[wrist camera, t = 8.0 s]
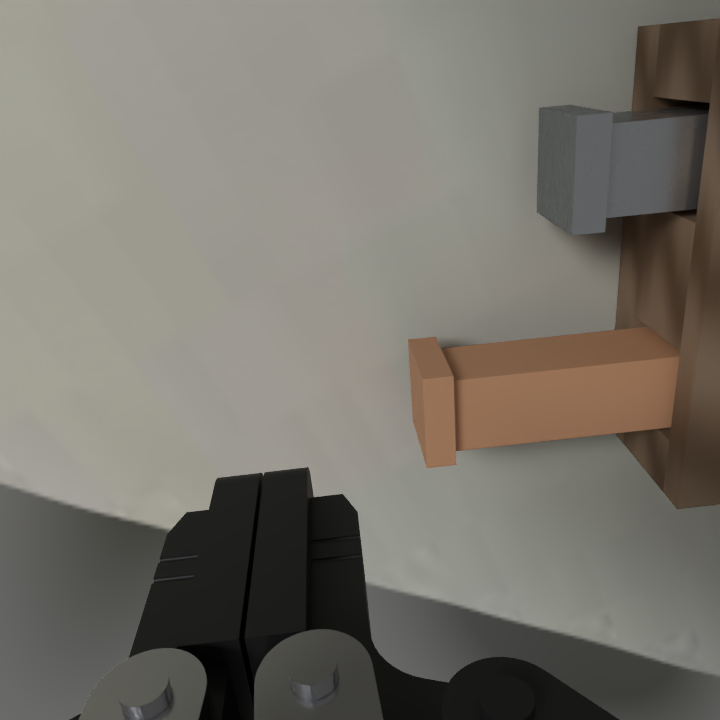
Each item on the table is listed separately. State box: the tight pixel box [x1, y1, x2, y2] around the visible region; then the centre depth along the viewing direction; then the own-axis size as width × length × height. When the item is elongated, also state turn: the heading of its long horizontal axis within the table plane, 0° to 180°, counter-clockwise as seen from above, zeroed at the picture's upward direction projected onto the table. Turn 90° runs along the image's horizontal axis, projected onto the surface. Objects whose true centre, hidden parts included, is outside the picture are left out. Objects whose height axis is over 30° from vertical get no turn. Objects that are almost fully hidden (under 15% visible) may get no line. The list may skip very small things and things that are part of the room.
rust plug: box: [408, 327, 680, 468], centre depth 29 cm, size 4×13×4 cm, turn 95°
